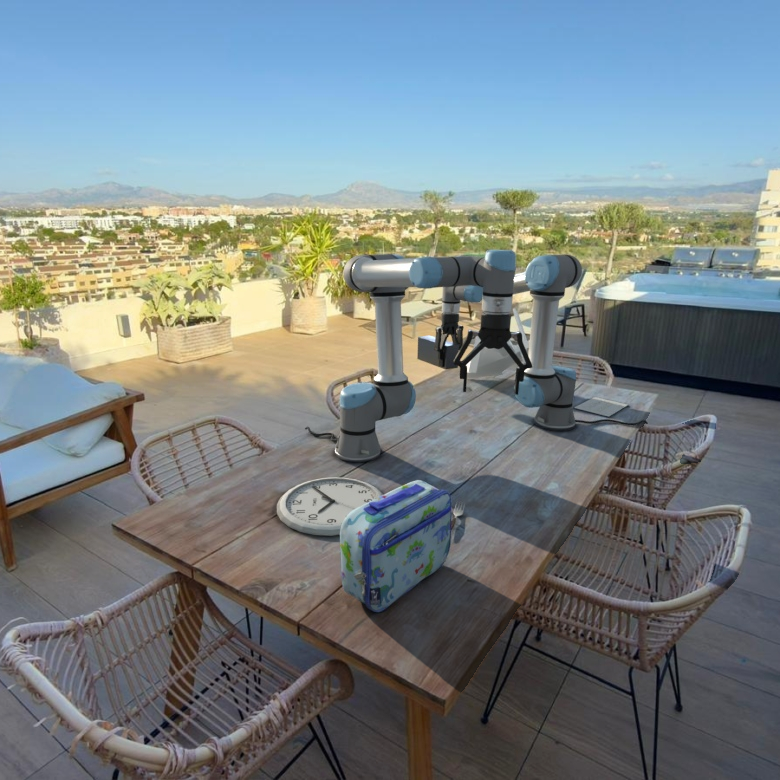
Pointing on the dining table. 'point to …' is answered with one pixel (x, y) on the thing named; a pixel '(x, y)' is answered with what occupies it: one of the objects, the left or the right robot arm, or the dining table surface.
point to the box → (431, 355)
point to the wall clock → (323, 504)
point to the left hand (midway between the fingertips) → (490, 391)
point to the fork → (457, 514)
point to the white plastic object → (495, 356)
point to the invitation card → (601, 406)
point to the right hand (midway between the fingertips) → (447, 365)
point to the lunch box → (394, 543)
